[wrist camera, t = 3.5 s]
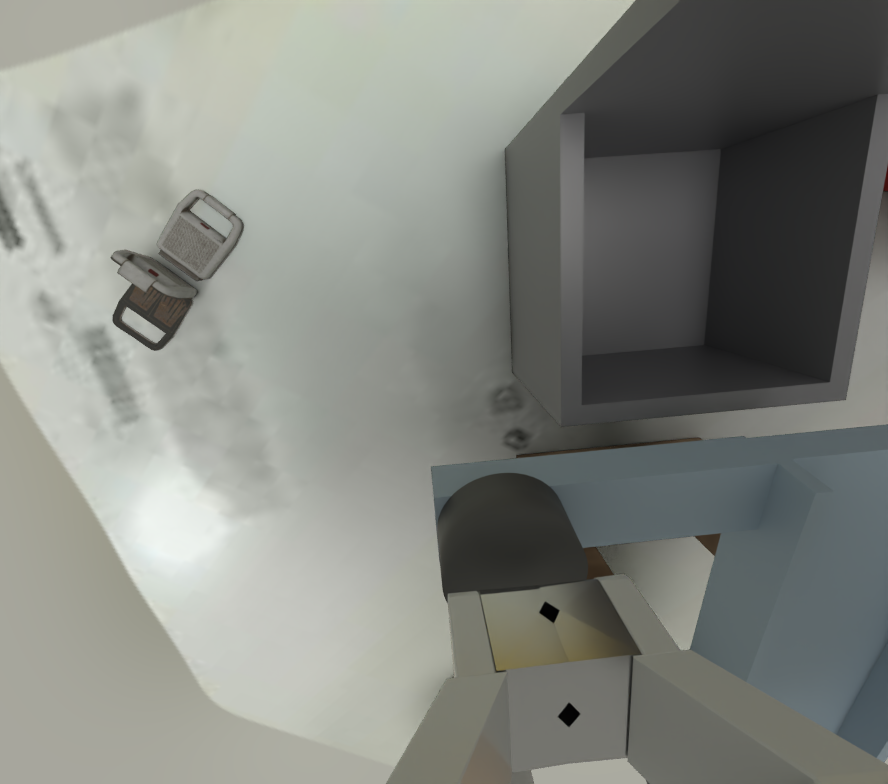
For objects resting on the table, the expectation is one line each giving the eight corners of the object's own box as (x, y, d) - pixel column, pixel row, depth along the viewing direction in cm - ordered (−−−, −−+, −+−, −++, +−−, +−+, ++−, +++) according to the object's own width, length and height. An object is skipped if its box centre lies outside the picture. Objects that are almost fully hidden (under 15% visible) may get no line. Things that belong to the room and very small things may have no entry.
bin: (727, 134, 24) (1287, -83, 9) (707, 354, 27) (1090, 479, 12) (504, 148, 24) (684, -55, 8) (512, 372, 27) (649, 526, 11)
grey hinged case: (199, 185, 23) (154, 169, 19) (252, 225, 24) (219, 219, 20) (112, 318, 25) (53, 330, 21) (164, 353, 25) (117, 371, 21)
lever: (872, 355, 15) (1126, 459, 9) (731, 731, 24) (822, 888, 19) (424, 396, 14) (437, 531, 9) (456, 767, 23) (472, 939, 18)
